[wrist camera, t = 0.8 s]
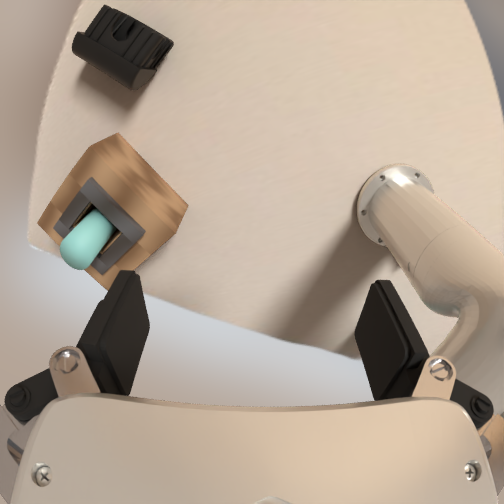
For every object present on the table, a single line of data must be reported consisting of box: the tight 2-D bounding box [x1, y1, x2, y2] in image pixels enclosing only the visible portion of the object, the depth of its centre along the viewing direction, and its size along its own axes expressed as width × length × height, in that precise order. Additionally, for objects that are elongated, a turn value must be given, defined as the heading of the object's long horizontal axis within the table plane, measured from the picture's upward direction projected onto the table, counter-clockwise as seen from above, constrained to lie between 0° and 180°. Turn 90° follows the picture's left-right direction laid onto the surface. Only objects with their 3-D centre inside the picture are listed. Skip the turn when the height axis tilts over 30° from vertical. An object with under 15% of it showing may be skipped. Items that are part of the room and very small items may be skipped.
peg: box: [60, 207, 117, 270], centre depth 32 cm, size 4×4×9 cm
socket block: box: [37, 133, 188, 290], centre depth 36 cm, size 14×14×9 cm
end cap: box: [72, 5, 174, 90], centre depth 26 cm, size 10×7×7 cm
